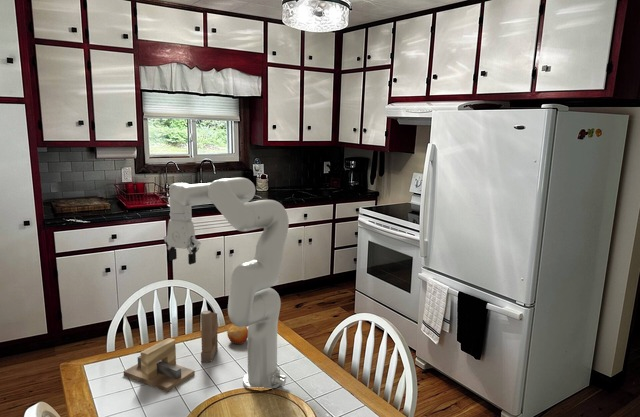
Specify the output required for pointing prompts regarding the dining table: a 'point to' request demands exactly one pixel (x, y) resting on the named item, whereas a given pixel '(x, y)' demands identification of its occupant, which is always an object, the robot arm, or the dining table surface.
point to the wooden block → (208, 335)
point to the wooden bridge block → (157, 357)
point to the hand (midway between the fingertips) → (182, 261)
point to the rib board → (161, 375)
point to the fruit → (237, 334)
